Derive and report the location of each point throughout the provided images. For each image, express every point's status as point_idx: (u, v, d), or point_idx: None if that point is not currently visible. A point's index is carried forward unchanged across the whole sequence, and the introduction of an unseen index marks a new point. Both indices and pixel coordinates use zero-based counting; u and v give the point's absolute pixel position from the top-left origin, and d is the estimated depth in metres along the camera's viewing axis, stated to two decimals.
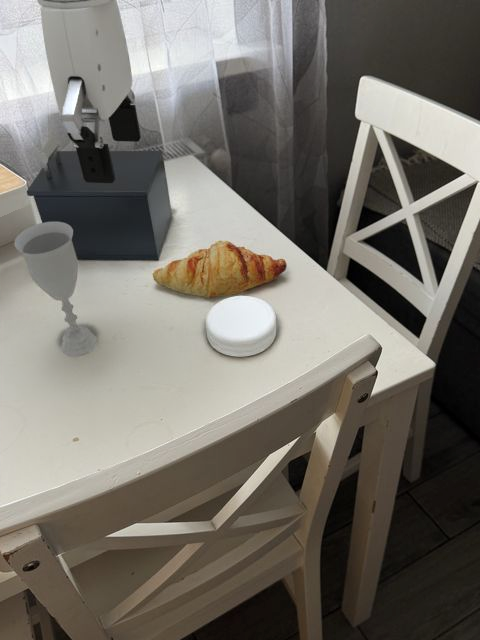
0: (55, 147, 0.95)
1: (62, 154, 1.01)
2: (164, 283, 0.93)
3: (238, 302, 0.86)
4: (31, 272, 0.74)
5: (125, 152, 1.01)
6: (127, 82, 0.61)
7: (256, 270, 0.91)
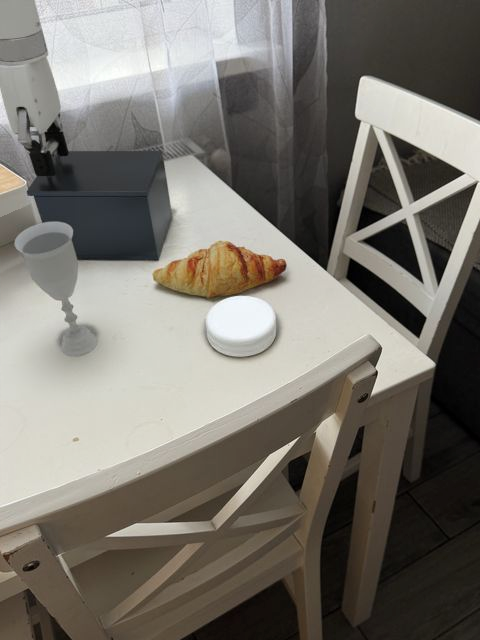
0: (55, 147, 0.95)
1: None
2: (164, 283, 0.93)
3: (238, 302, 0.86)
4: (31, 272, 0.74)
5: (125, 152, 1.01)
6: (57, 108, 0.92)
7: (256, 270, 0.91)
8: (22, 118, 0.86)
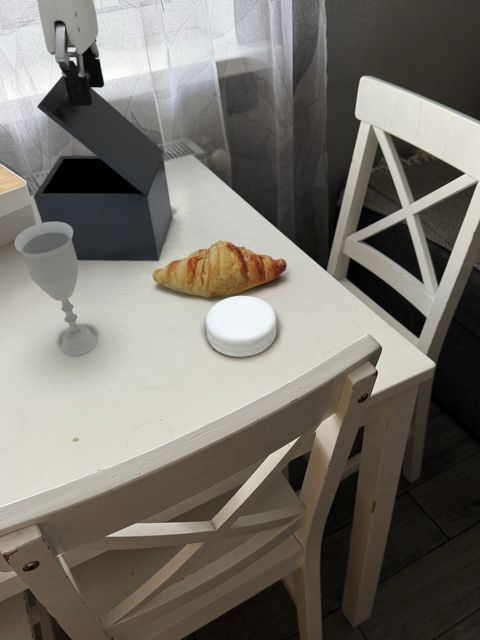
0: None
1: None
2: (164, 283, 0.93)
3: (238, 302, 0.86)
4: (31, 272, 0.74)
5: (133, 127, 0.98)
6: (95, 29, 0.84)
7: (256, 270, 0.91)
8: (60, 34, 0.78)
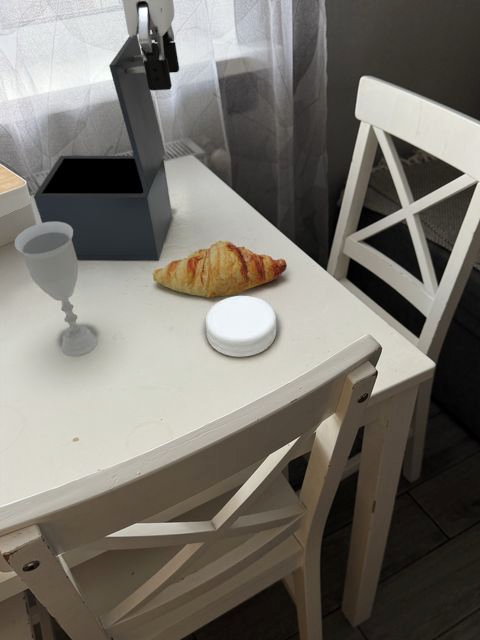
0: None
1: (137, 49, 0.89)
2: (164, 283, 0.93)
3: (238, 302, 0.86)
4: (31, 272, 0.74)
5: (155, 118, 0.97)
6: (172, 11, 0.82)
7: (256, 270, 0.91)
8: (143, 15, 0.75)
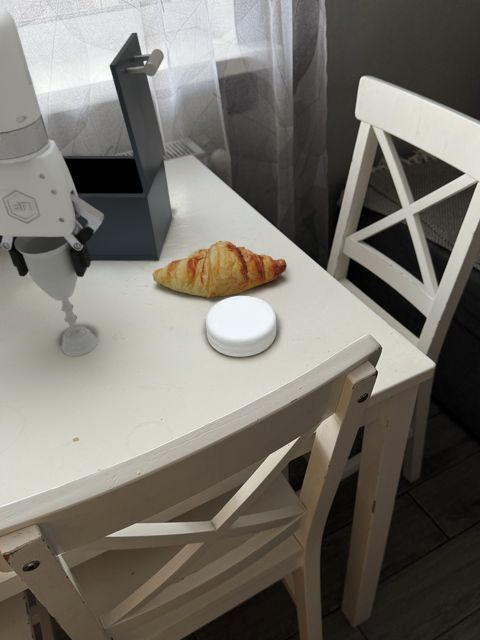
0: None
1: (138, 49, 0.89)
2: (164, 283, 0.93)
3: (238, 302, 0.86)
4: (31, 272, 0.74)
5: (155, 118, 0.97)
6: None
7: (256, 270, 0.91)
8: (79, 201, 0.69)
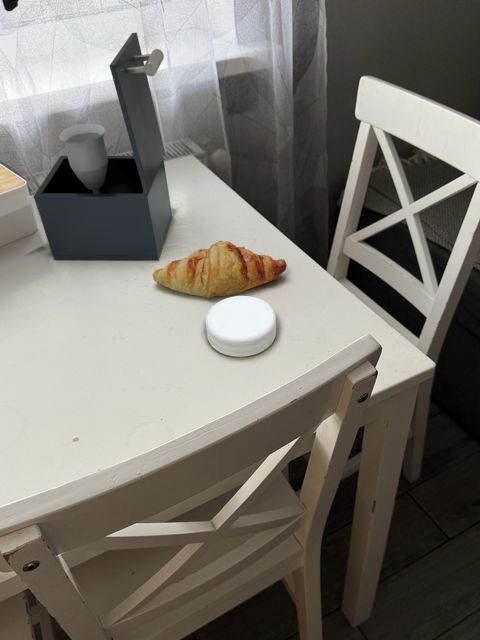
0: None
1: (138, 49, 0.89)
2: (164, 283, 0.93)
3: (238, 302, 0.86)
4: (71, 162, 0.93)
5: (155, 118, 0.97)
6: None
7: (256, 270, 0.91)
8: None
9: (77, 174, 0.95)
